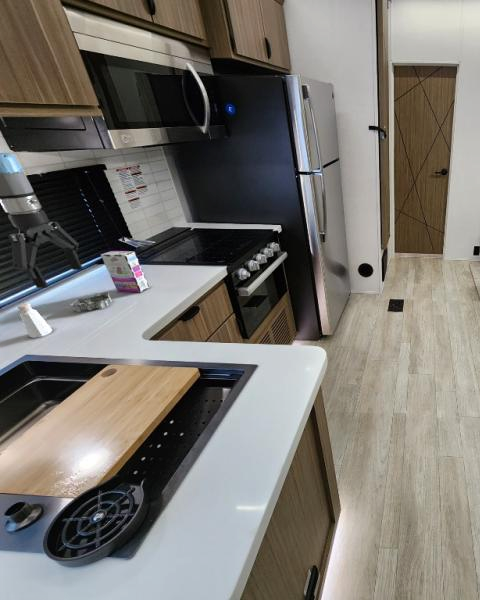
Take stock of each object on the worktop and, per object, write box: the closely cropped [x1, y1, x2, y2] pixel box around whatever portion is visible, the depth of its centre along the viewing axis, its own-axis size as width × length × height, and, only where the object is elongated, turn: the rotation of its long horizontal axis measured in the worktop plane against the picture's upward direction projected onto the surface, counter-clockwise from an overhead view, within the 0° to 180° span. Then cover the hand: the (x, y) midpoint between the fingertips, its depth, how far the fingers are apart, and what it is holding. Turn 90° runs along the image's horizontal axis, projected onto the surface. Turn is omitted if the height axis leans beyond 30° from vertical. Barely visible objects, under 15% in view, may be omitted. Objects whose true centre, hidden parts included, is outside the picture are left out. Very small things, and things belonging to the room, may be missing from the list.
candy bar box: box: [100, 250, 150, 293], centre depth 135 cm, size 11×5×16 cm, turn 83°
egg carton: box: [69, 291, 113, 313], centre depth 126 cm, size 11×8×4 cm
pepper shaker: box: [17, 302, 53, 339], centre depth 108 cm, size 5×5×11 cm
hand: (61, 277), depth 106 cm, fingers open, 13 cm apart
